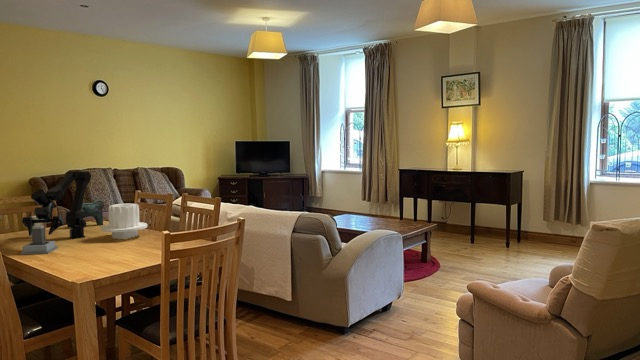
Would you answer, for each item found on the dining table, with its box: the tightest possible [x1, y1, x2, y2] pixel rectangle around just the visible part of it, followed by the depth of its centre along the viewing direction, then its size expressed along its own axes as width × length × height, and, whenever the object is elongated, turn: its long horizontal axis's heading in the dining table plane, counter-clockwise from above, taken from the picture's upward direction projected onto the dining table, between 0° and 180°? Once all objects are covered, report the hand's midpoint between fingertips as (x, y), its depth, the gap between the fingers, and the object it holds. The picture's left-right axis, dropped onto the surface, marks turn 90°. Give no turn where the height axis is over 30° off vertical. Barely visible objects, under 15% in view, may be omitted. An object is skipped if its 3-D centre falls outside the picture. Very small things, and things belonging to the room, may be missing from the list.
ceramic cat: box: [81, 195, 105, 227], centre depth 311 cm, size 20×6×20 cm, turn 135°
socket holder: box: [19, 240, 59, 256], centre depth 243 cm, size 13×13×4 cm
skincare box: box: [28, 215, 43, 239], centre depth 279 cm, size 6×4×12 cm
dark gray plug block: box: [31, 224, 47, 245], centre depth 243 cm, size 4×4×12 cm
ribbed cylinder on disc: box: [100, 202, 148, 240], centre depth 277 cm, size 25×25×19 cm
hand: (39, 234), depth 243 cm, fingers open, 9 cm apart
